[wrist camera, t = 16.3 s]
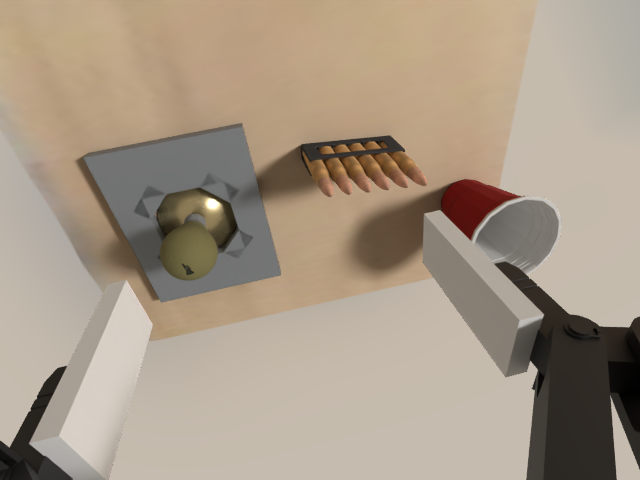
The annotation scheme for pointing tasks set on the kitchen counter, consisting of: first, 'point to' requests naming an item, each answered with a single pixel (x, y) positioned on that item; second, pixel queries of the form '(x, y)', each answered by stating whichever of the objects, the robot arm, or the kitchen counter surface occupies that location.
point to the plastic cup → (504, 223)
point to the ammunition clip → (359, 164)
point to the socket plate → (189, 204)
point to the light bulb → (189, 250)
